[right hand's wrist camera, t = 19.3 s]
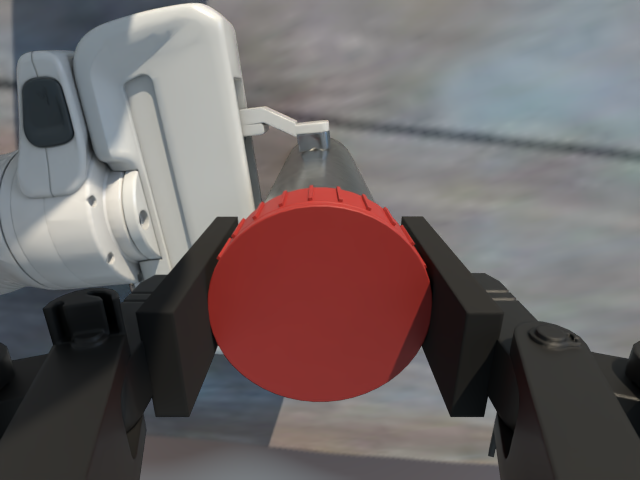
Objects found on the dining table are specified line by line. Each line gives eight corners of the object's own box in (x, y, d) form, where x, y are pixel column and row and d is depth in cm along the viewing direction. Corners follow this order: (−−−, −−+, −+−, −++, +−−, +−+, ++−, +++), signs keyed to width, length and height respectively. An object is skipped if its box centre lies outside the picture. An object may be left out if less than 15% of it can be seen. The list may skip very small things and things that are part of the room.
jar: (349, 208, 30) (393, 382, 12) (282, 201, 30) (223, 366, 12) (359, 140, 28) (431, 222, 10) (288, 131, 28) (230, 199, 10)
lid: (188, 222, 11) (163, 247, 9) (388, 154, 11) (402, 167, 9) (265, 380, 13) (256, 426, 12) (437, 331, 13) (457, 371, 11)
